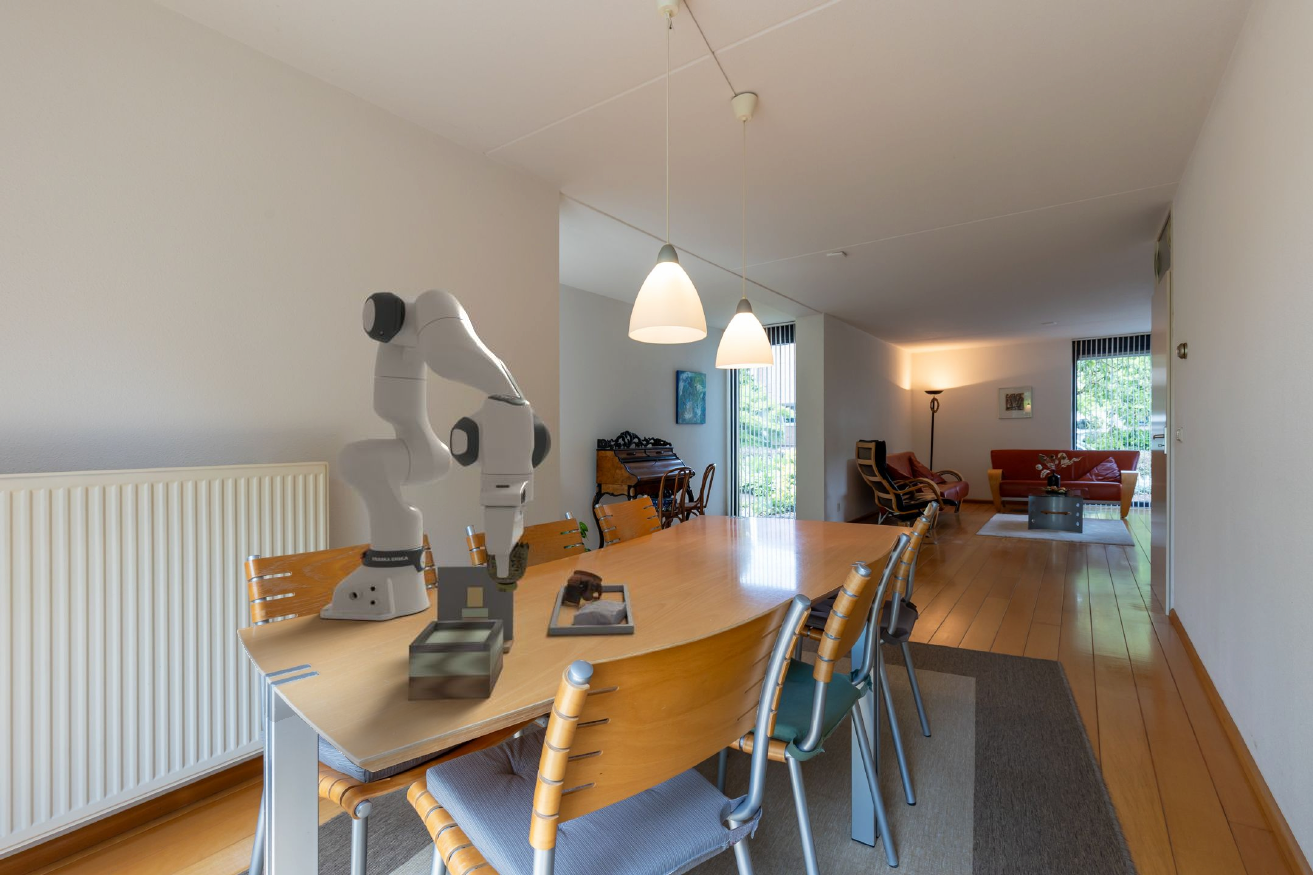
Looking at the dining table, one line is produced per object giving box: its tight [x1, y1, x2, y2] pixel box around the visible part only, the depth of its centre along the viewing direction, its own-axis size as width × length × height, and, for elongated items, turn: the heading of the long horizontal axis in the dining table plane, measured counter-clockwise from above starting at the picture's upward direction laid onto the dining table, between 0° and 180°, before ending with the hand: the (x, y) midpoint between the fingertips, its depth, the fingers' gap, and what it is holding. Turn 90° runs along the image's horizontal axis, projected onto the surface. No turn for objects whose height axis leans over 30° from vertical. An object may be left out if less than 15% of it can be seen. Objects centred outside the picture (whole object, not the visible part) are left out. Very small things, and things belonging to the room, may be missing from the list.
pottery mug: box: [562, 569, 603, 606], centre depth 145 cm, size 12×10×8 cm
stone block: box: [572, 599, 627, 626], centre depth 128 cm, size 12×5×10 cm
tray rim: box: [548, 583, 635, 636], centre depth 137 cm, size 17×34×2 cm, turn 5°
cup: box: [484, 541, 531, 592], centre depth 102 cm, size 8×7×8 cm
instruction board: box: [436, 564, 515, 653], centre depth 112 cm, size 14×6×15 cm, turn 95°
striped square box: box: [408, 620, 504, 701], centre depth 96 cm, size 12×12×8 cm
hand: (506, 570), depth 102 cm, fingers closed on cup, 7 cm apart
